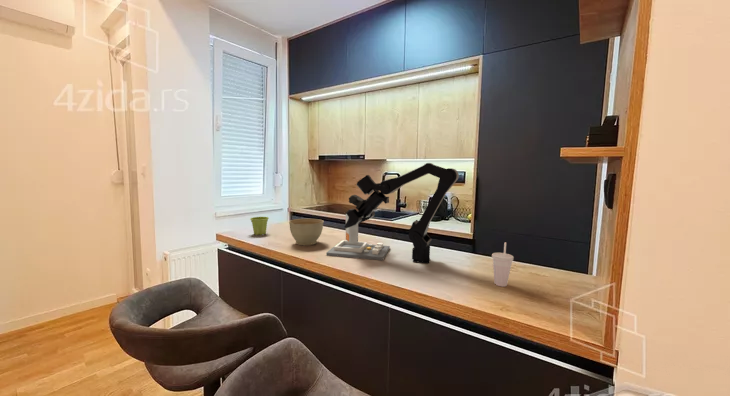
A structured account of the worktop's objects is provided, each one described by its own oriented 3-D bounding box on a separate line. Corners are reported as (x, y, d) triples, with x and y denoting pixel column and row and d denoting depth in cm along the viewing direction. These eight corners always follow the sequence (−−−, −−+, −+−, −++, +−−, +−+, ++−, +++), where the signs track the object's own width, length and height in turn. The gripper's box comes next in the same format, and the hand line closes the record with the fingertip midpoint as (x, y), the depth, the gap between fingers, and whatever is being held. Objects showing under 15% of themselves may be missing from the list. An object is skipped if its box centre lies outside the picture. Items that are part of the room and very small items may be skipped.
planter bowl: (327, 246, 139) (327, 223, 138) (291, 249, 133) (291, 225, 132) (319, 238, 154) (319, 217, 153) (287, 240, 148) (287, 218, 147)
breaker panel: (389, 248, 137) (389, 242, 137) (383, 260, 120) (383, 253, 119) (339, 244, 142) (339, 238, 142) (326, 255, 125) (326, 248, 124)
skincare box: (345, 240, 134) (345, 213, 133) (354, 239, 136) (354, 213, 135) (349, 243, 129) (349, 215, 127) (358, 242, 130) (358, 215, 129)
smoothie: (510, 289, 93) (513, 245, 91) (488, 285, 96) (491, 242, 94) (512, 283, 98) (515, 241, 96) (491, 279, 101) (494, 238, 100)
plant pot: (258, 236, 155) (257, 220, 154) (246, 234, 160) (246, 218, 159) (272, 233, 163) (272, 217, 162) (261, 231, 168) (261, 216, 167)
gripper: (368, 187, 137) (347, 209, 142) (350, 190, 120) (326, 215, 125) (384, 205, 134) (362, 227, 140) (368, 210, 117) (343, 235, 123)
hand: (349, 226), depth 132 cm, fingers closed on skincare box, 7 cm apart
